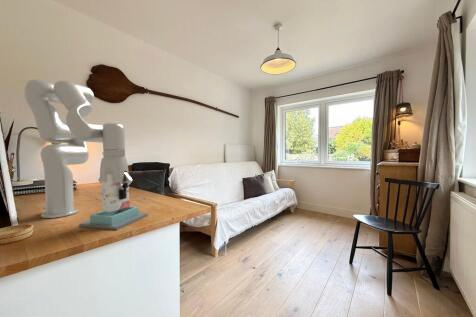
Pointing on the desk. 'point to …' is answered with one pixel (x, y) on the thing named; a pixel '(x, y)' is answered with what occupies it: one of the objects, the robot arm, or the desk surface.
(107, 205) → the ink cartridge box
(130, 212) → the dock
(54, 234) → the desk surface
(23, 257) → the desk surface
